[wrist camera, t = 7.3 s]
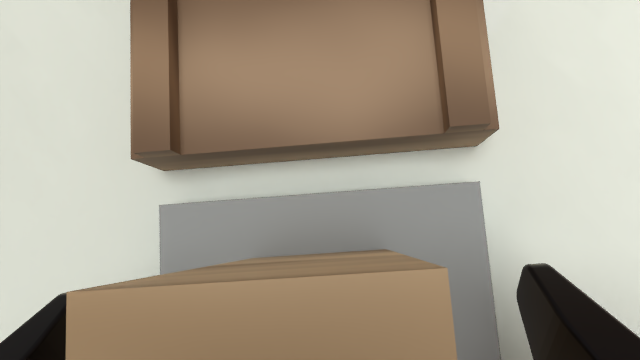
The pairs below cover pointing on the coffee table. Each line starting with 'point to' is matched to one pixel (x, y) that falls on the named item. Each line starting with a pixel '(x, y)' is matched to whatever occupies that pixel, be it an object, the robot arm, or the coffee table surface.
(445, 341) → the oak mallet
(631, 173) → the coffee table surface
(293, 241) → the grey rubber pad
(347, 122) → the walnut shelf lane
